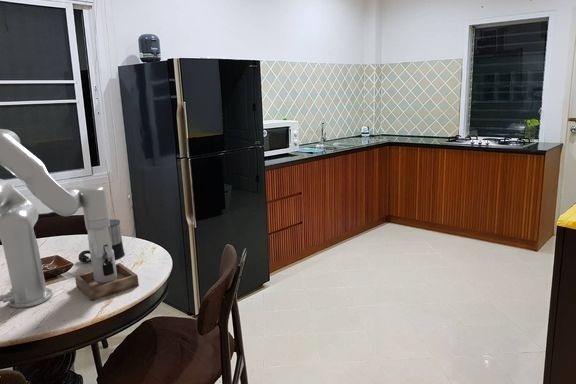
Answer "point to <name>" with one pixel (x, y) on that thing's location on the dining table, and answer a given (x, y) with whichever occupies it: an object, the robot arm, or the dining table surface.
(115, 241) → the milk frother
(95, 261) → the can
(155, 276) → the dining table surface
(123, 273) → the tray
